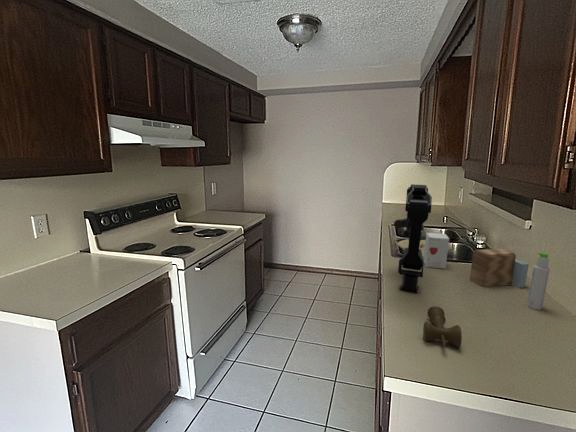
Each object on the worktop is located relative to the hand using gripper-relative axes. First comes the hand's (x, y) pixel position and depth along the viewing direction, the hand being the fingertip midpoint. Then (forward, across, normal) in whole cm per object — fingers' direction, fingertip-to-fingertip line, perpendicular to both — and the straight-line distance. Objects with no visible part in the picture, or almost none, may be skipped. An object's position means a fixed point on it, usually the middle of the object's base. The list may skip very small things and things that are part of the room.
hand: (412, 248), depth 140 cm
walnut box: (+12, -8, +31) cm, 34 cm away
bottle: (+12, +10, +43) cm, 46 cm away
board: (+12, -14, +38) cm, 42 cm away
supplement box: (+12, -19, +8) cm, 24 cm away
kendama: (+12, +46, +15) cm, 50 cm away
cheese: (+12, -25, -2) cm, 28 cm away
